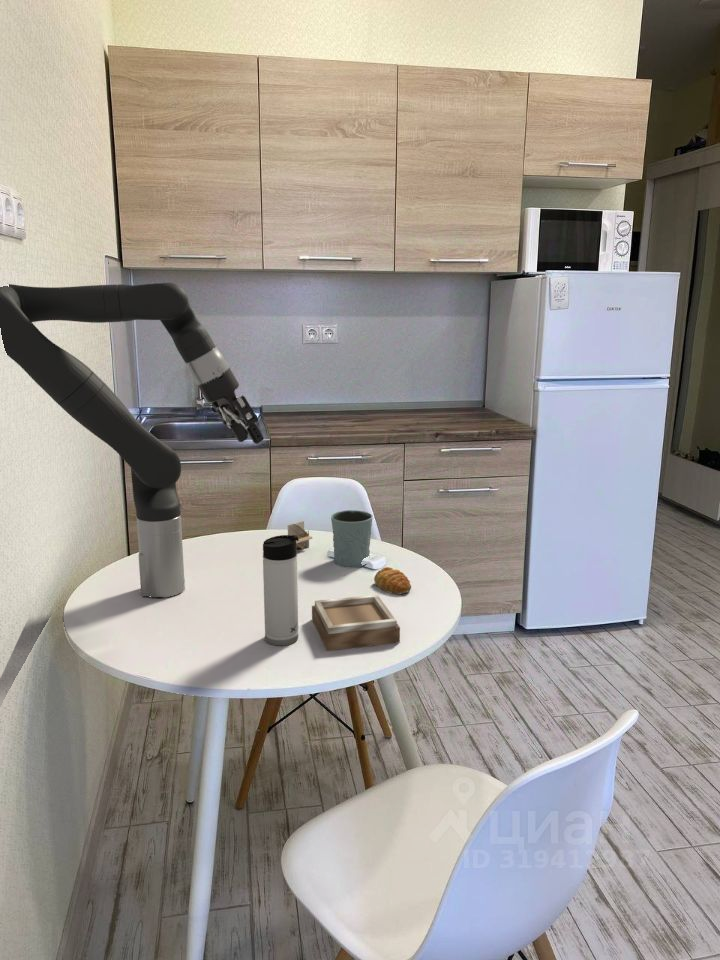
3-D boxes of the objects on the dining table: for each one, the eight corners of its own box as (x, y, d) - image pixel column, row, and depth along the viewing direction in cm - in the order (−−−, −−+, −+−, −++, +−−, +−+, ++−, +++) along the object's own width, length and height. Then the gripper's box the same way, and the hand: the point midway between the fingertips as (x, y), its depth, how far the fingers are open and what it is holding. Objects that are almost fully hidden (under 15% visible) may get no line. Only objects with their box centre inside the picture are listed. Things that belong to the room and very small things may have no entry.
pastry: (418, 592, 158) (419, 576, 157) (393, 598, 154) (393, 582, 153) (394, 579, 165) (395, 563, 164) (370, 585, 162) (370, 569, 161)
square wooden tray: (326, 650, 130) (326, 629, 129) (312, 619, 143) (311, 600, 142) (399, 642, 133) (400, 621, 132) (378, 612, 146) (379, 593, 145)
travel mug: (303, 643, 132) (301, 541, 128) (268, 648, 131) (265, 544, 126) (296, 629, 138) (294, 531, 134) (262, 633, 136) (259, 534, 132)
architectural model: (313, 550, 186) (312, 523, 184) (293, 556, 181) (292, 528, 179) (304, 547, 188) (304, 520, 186) (284, 553, 183) (283, 526, 182)
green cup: (367, 554, 182) (367, 509, 179) (376, 567, 172) (377, 520, 169) (328, 556, 180) (327, 511, 177) (335, 570, 170) (335, 522, 167)
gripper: (186, 384, 150) (225, 449, 156) (209, 382, 138) (250, 452, 144) (215, 367, 153) (252, 430, 159) (239, 363, 141) (279, 432, 147)
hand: (251, 441), depth 151 cm, fingers open, 8 cm apart
